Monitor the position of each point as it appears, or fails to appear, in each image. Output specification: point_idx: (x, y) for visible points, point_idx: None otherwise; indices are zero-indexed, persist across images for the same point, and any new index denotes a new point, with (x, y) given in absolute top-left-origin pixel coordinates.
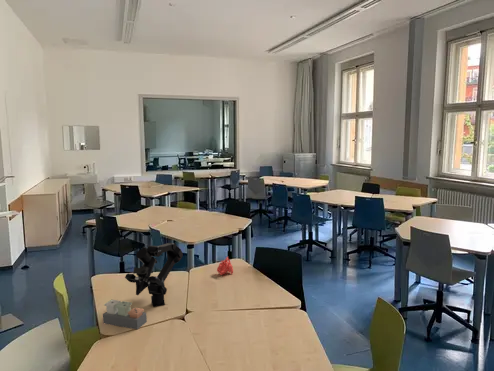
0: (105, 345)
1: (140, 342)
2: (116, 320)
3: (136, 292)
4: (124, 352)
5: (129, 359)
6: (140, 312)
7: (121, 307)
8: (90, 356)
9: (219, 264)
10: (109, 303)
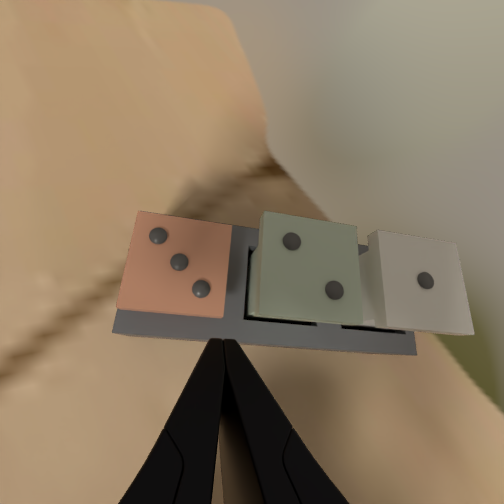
0: (231, 105)
1: (73, 127)
2: None
3: (235, 354)
4: (119, 62)
5: (72, 23)
6: (130, 256)
7: (298, 219)
8: (241, 48)
9: None
10: (430, 256)
